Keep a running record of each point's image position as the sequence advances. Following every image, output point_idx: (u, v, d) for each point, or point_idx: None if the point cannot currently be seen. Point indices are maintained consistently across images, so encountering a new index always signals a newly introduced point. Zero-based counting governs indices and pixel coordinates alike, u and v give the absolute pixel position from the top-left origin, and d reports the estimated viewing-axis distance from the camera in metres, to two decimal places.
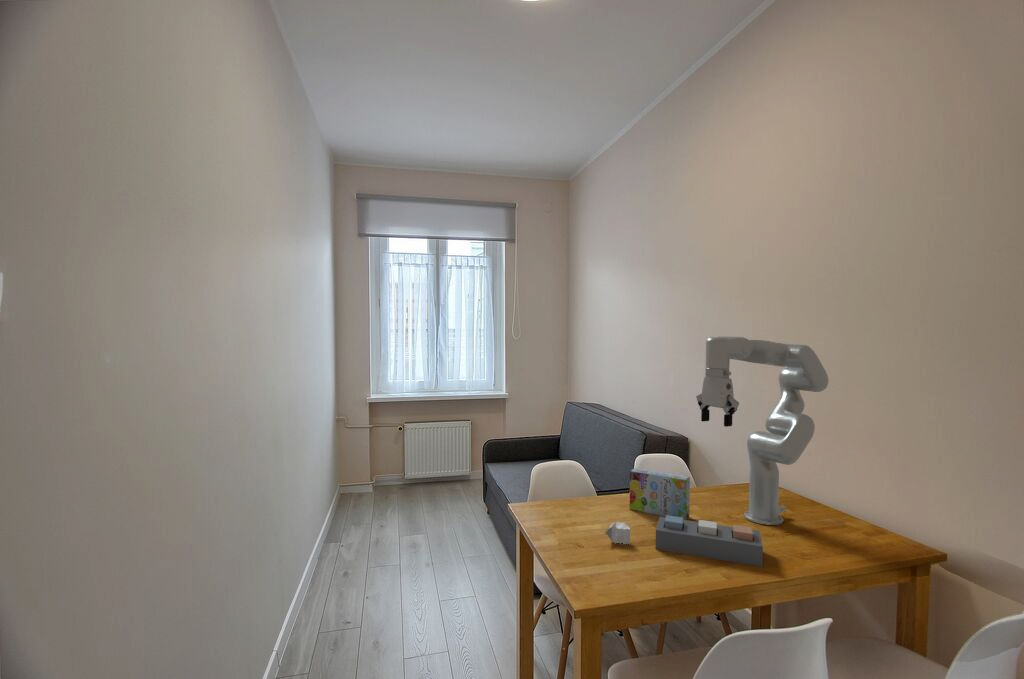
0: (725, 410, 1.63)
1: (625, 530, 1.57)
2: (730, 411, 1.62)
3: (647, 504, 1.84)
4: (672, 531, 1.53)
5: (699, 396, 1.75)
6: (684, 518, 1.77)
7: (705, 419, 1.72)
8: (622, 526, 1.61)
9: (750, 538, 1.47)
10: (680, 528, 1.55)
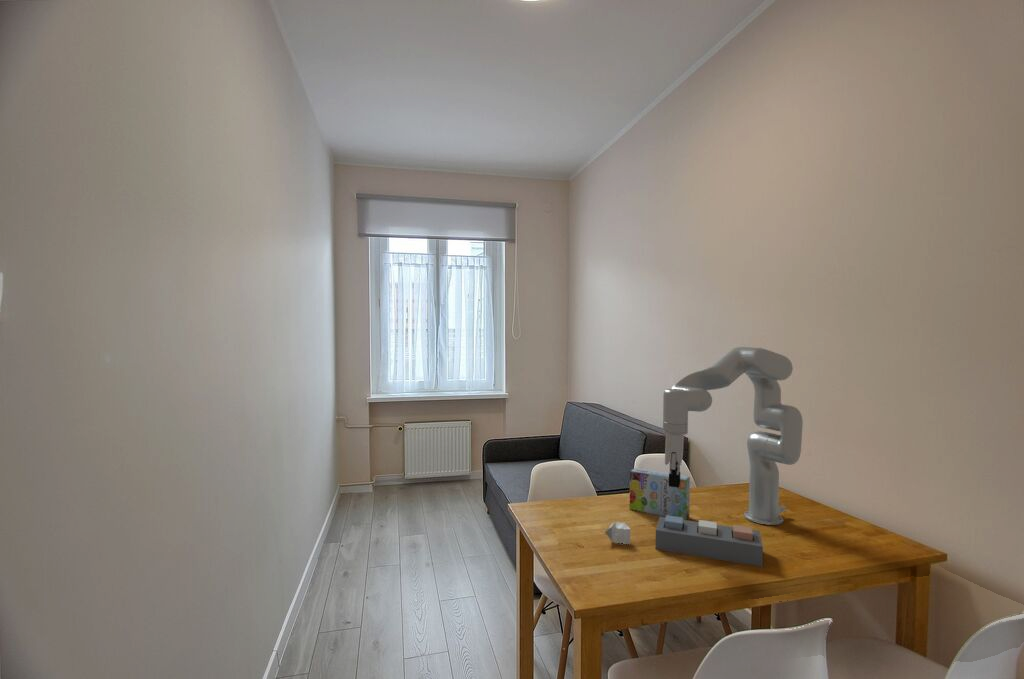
0: (679, 466, 1.59)
1: (625, 530, 1.57)
2: None
3: (647, 504, 1.84)
4: (672, 531, 1.53)
5: (675, 465, 1.52)
6: (684, 518, 1.77)
7: None
8: (622, 526, 1.61)
9: (750, 538, 1.47)
10: (680, 528, 1.55)
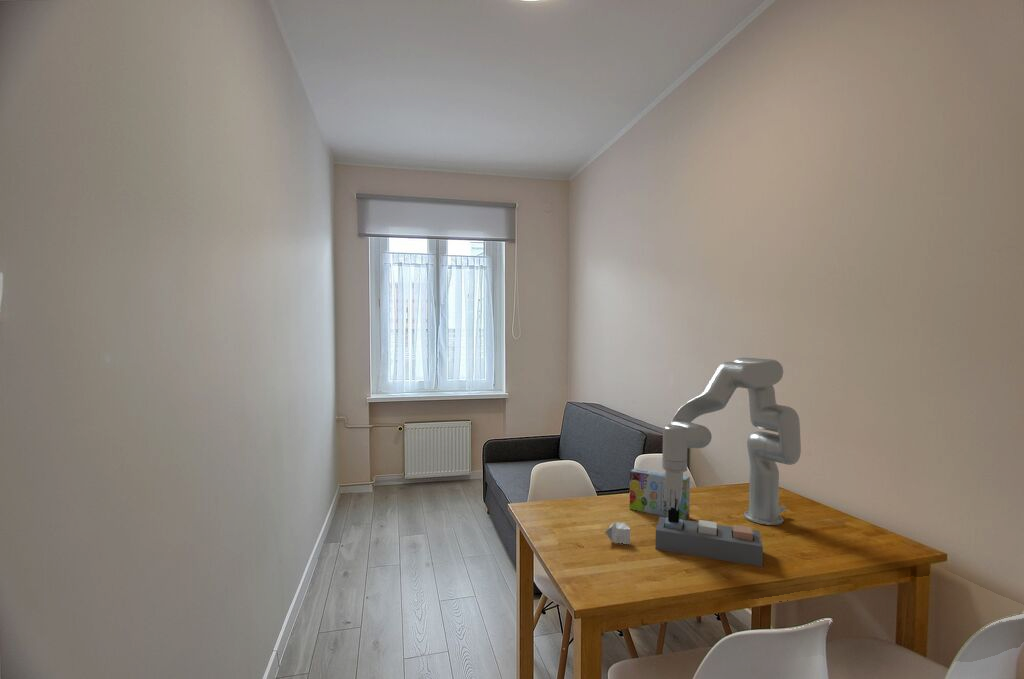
0: (678, 503, 1.59)
1: (625, 530, 1.57)
2: None
3: (647, 504, 1.84)
4: (672, 531, 1.53)
5: (674, 502, 1.54)
6: (684, 518, 1.77)
7: None
8: (622, 526, 1.61)
9: (750, 538, 1.47)
10: None
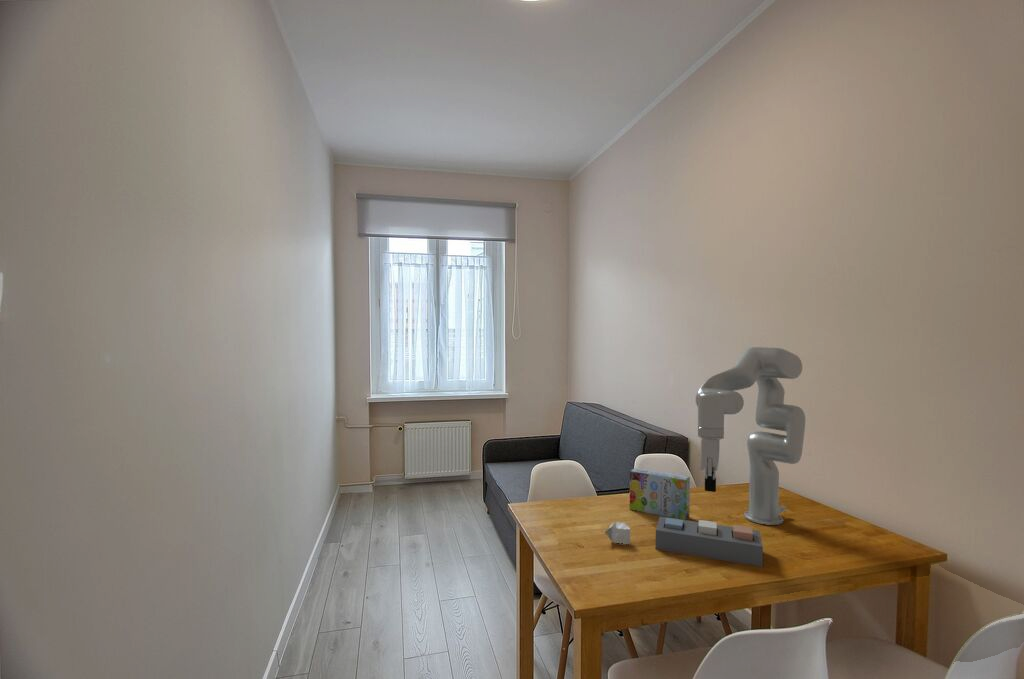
0: None
1: (625, 530, 1.57)
2: None
3: (647, 504, 1.84)
4: (672, 531, 1.53)
5: (711, 470, 1.49)
6: (684, 518, 1.77)
7: None
8: (622, 526, 1.61)
9: (750, 538, 1.47)
10: None
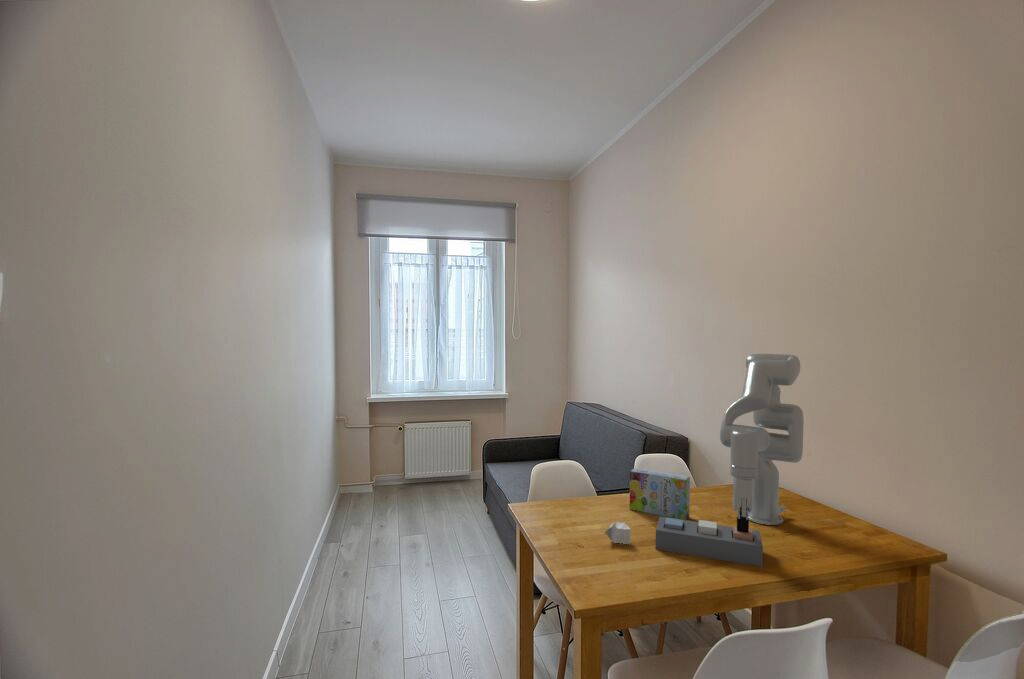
0: None
1: (625, 530, 1.57)
2: None
3: (647, 504, 1.84)
4: (672, 531, 1.53)
5: (746, 511, 1.46)
6: (684, 518, 1.77)
7: None
8: (622, 526, 1.61)
9: (750, 539, 1.48)
10: None
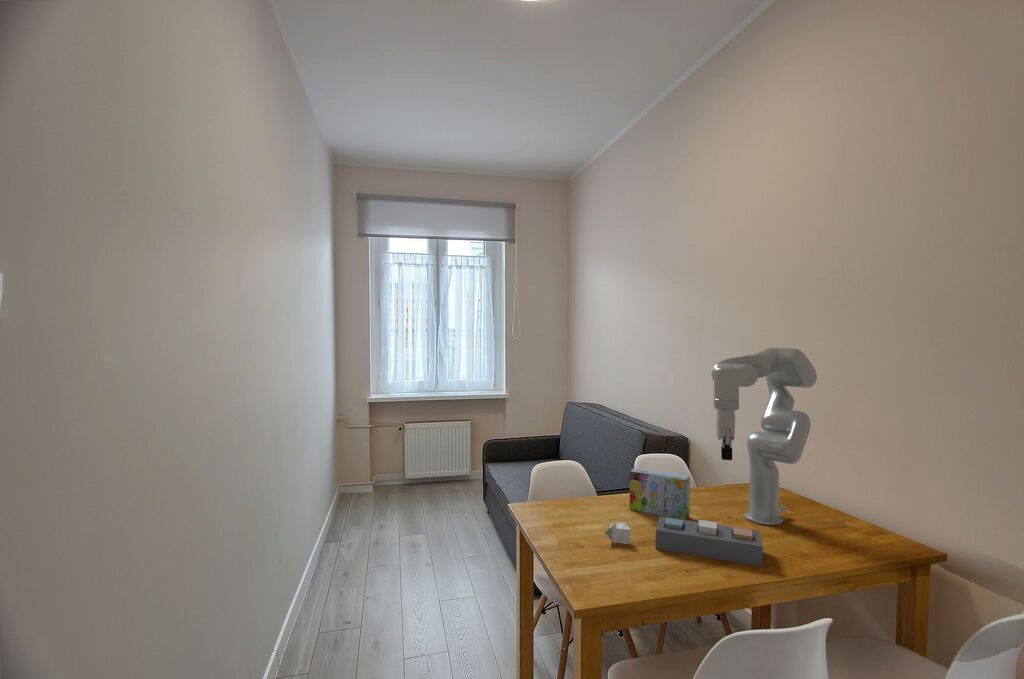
0: None
1: (625, 530, 1.57)
2: None
3: (647, 504, 1.84)
4: (672, 531, 1.53)
5: (729, 440, 1.58)
6: (684, 518, 1.77)
7: None
8: (622, 526, 1.61)
9: (750, 540, 1.48)
10: None
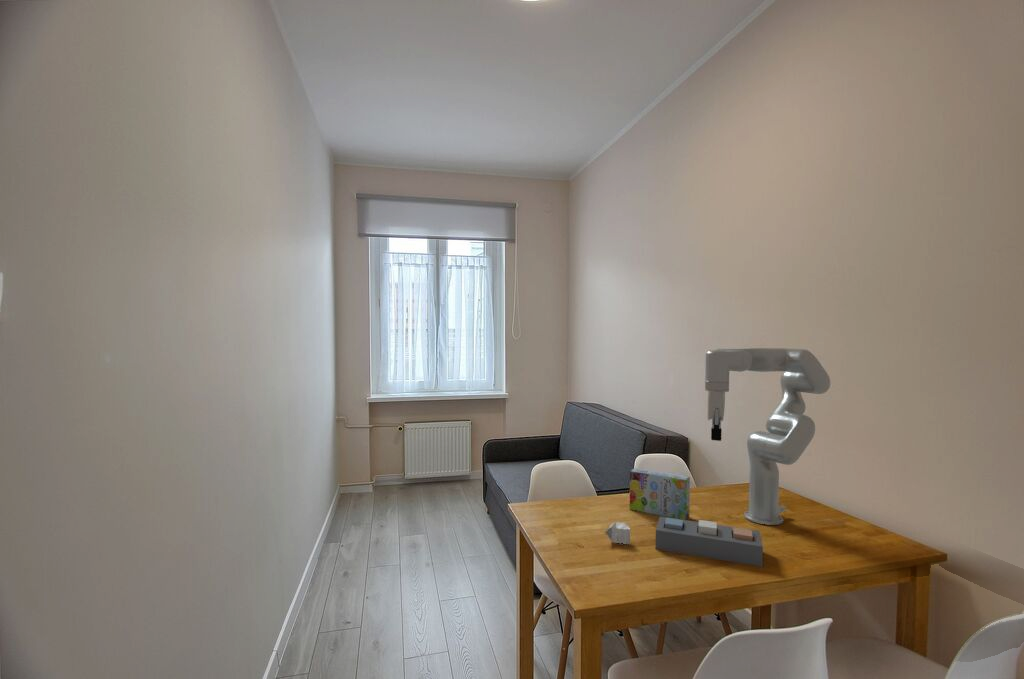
0: None
1: (625, 530, 1.57)
2: None
3: (647, 504, 1.84)
4: (672, 531, 1.53)
5: (718, 420, 1.64)
6: (684, 518, 1.77)
7: None
8: (622, 526, 1.61)
9: (750, 540, 1.48)
10: None
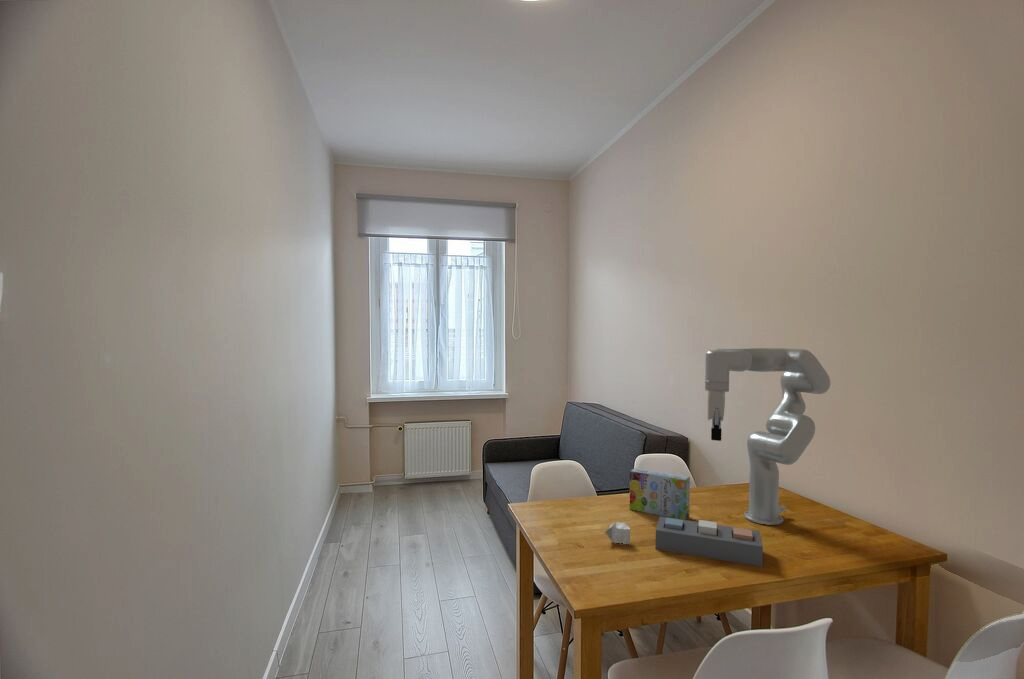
0: None
1: (625, 530, 1.57)
2: None
3: (647, 504, 1.84)
4: (672, 531, 1.53)
5: (718, 420, 1.64)
6: (684, 518, 1.77)
7: None
8: (622, 526, 1.61)
9: (750, 540, 1.48)
10: None
